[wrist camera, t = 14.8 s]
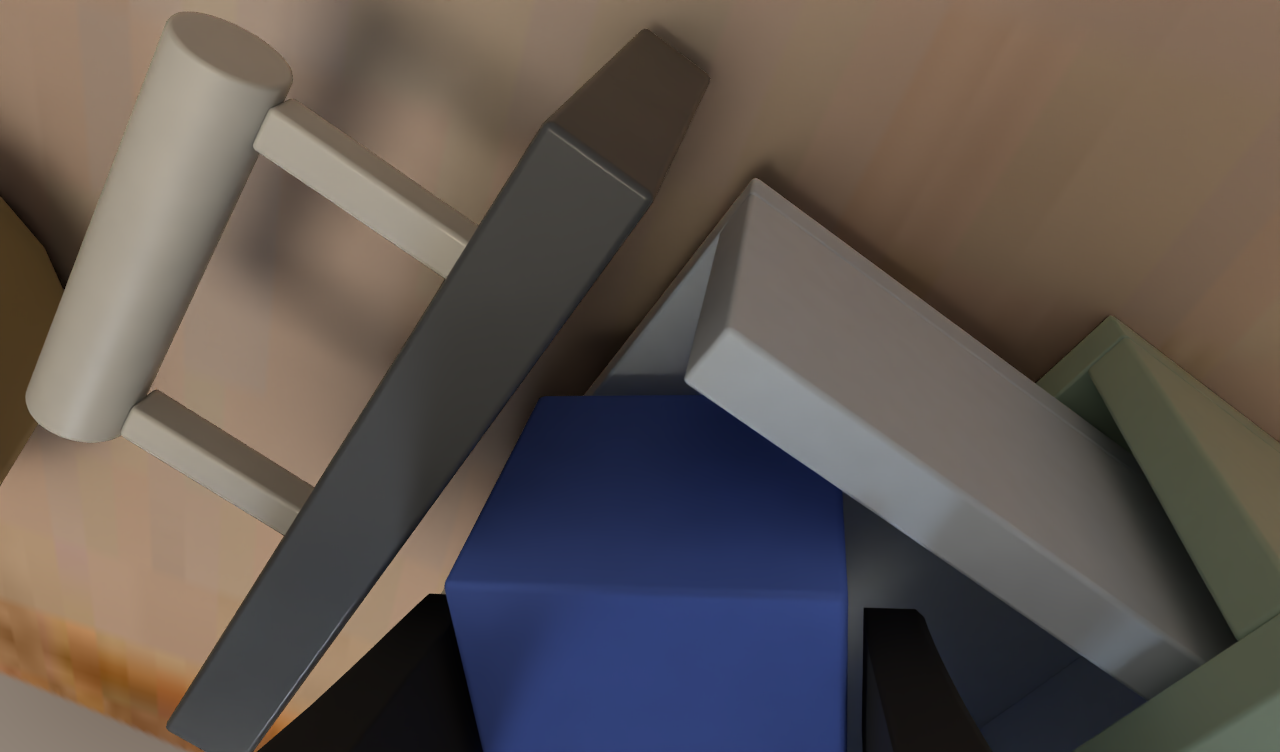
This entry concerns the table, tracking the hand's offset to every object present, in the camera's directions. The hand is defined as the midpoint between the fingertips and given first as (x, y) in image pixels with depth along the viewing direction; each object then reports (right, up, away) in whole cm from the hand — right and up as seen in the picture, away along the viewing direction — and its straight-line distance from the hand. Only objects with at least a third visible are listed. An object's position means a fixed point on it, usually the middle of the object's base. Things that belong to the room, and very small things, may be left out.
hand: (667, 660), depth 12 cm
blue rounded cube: (0, +1, +3) cm, 3 cm away
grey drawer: (0, +3, +4) cm, 5 cm away
